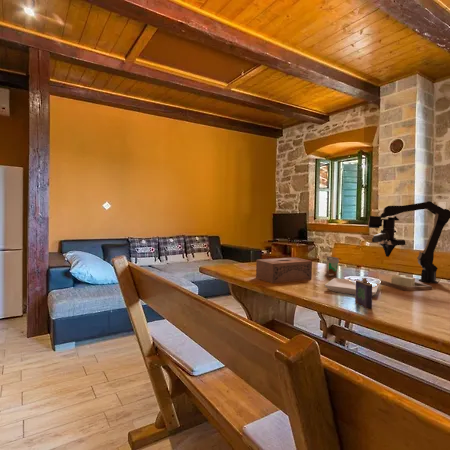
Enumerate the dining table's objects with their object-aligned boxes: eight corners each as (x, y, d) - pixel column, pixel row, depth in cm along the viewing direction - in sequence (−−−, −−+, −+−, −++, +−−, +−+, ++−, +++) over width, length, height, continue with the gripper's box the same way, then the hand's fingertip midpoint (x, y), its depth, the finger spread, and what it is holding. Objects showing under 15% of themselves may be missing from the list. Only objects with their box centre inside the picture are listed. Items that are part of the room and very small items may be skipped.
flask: (353, 302, 127) (354, 275, 126) (360, 302, 127) (361, 275, 127) (367, 309, 118) (368, 280, 117) (374, 309, 118) (375, 280, 118)
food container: (340, 277, 175) (340, 259, 175) (328, 277, 177) (329, 259, 176) (337, 273, 187) (337, 256, 187) (326, 273, 189) (326, 256, 188)
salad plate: (380, 289, 151) (380, 282, 151) (375, 299, 132) (376, 291, 132) (334, 283, 162) (334, 277, 161) (323, 292, 143) (323, 284, 143)
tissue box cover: (293, 274, 183) (294, 257, 183) (311, 279, 170) (312, 261, 170) (256, 278, 171) (256, 259, 171) (272, 283, 158) (272, 263, 158)
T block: (401, 282, 167) (401, 275, 166) (417, 285, 160) (417, 277, 160) (391, 284, 161) (391, 276, 161) (407, 287, 154) (408, 279, 154)
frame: (405, 282, 167) (405, 279, 167) (432, 289, 152) (432, 286, 152) (380, 283, 163) (380, 280, 163) (404, 290, 148) (405, 287, 148)
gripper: (364, 227, 183) (363, 254, 184) (389, 229, 165) (388, 259, 166) (380, 227, 186) (379, 254, 187) (407, 229, 168) (405, 259, 169)
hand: (387, 256), depth 177 cm, fingers closed
